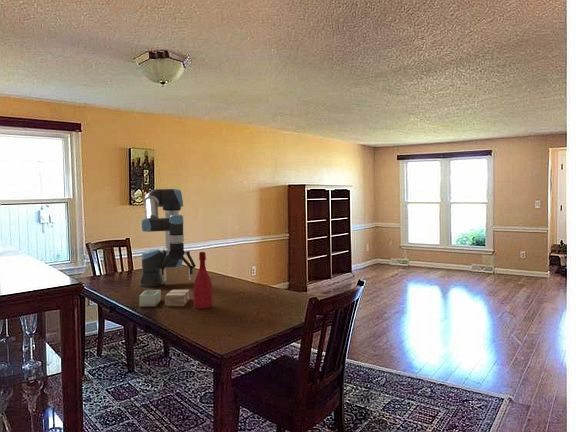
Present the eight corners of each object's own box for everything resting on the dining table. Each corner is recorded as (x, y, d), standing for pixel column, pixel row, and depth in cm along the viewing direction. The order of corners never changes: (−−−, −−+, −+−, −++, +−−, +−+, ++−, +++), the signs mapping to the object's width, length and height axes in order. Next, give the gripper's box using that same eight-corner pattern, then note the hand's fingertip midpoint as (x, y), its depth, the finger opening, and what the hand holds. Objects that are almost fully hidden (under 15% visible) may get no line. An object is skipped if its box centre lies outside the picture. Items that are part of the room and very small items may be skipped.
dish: (145, 300, 245) (145, 290, 245) (160, 300, 245) (160, 289, 245) (139, 306, 232) (139, 295, 232) (155, 306, 232) (155, 295, 232)
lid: (172, 299, 247) (172, 289, 247) (189, 299, 247) (189, 289, 247) (165, 306, 232) (164, 295, 232) (183, 306, 232) (183, 295, 232)
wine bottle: (216, 306, 232) (215, 251, 230) (203, 310, 223) (203, 253, 221) (202, 303, 237) (201, 250, 235) (189, 308, 228) (188, 252, 226)
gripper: (152, 243, 233) (153, 282, 234) (198, 243, 235) (199, 281, 236) (155, 242, 241) (156, 279, 242) (200, 241, 242) (200, 278, 243)
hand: (177, 280), depth 239 cm, fingers open, 13 cm apart
